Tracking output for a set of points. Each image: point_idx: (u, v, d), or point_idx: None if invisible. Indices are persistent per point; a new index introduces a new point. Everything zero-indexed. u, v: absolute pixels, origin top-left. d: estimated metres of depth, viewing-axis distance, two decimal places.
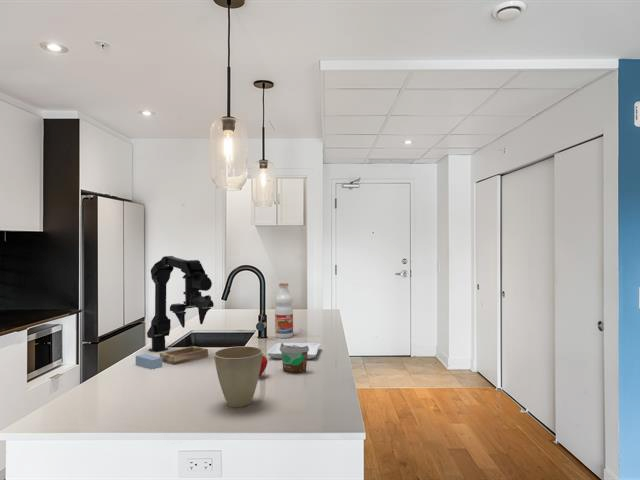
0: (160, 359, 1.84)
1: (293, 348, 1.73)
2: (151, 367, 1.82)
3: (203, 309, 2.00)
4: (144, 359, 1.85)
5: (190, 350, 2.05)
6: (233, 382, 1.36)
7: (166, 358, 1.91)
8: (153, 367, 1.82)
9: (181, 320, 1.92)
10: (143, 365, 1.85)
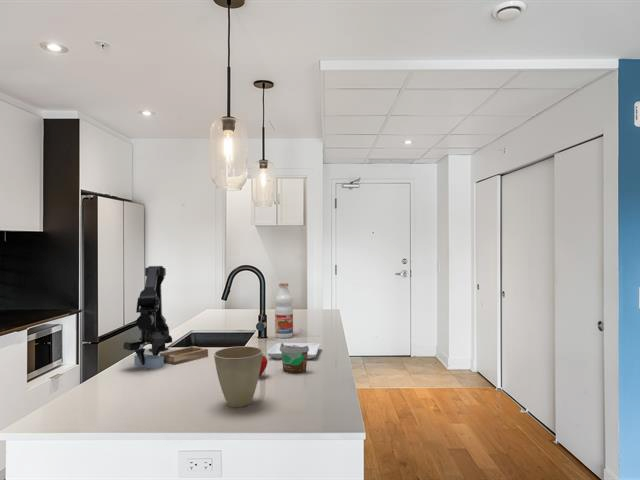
0: (161, 358, 1.85)
1: (293, 348, 1.73)
2: (153, 366, 1.82)
3: (156, 346, 1.89)
4: (145, 359, 1.85)
5: (190, 350, 2.05)
6: (233, 382, 1.36)
7: (166, 358, 1.91)
8: (155, 366, 1.82)
9: (140, 357, 1.84)
10: (143, 365, 1.85)
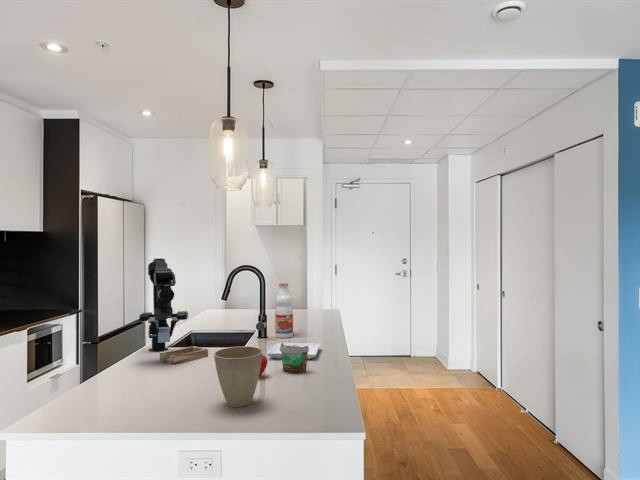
0: (167, 333, 1.86)
1: (293, 348, 1.73)
2: (158, 340, 1.86)
3: (171, 321, 1.91)
4: None
5: (190, 350, 2.05)
6: (233, 382, 1.36)
7: (166, 358, 1.91)
8: (159, 340, 1.85)
9: None
10: None
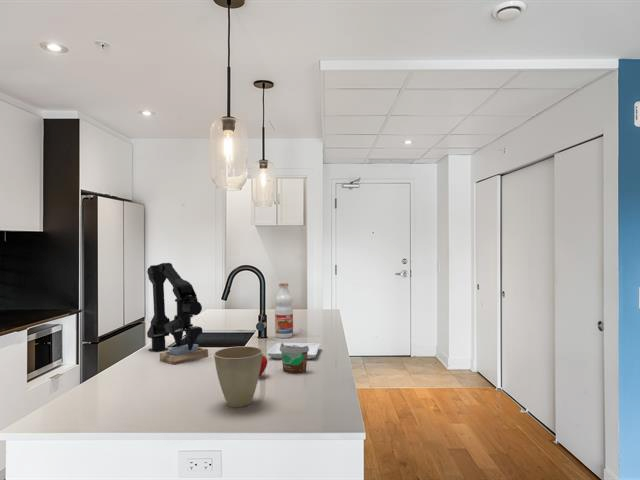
0: (175, 351, 1.92)
1: (293, 348, 1.73)
2: None
3: None
4: None
5: None
6: (233, 382, 1.36)
7: (166, 358, 1.91)
8: None
9: None
10: None
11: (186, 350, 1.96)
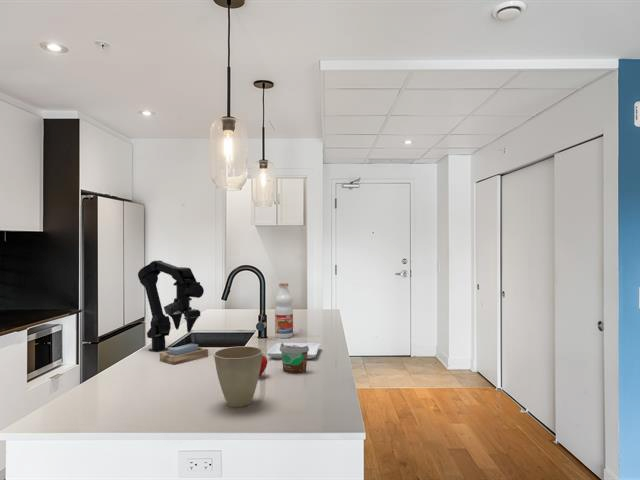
0: (175, 351, 1.92)
1: (293, 348, 1.73)
2: None
3: None
4: None
5: None
6: (233, 382, 1.36)
7: (166, 358, 1.91)
8: None
9: None
10: None
11: (186, 350, 1.96)
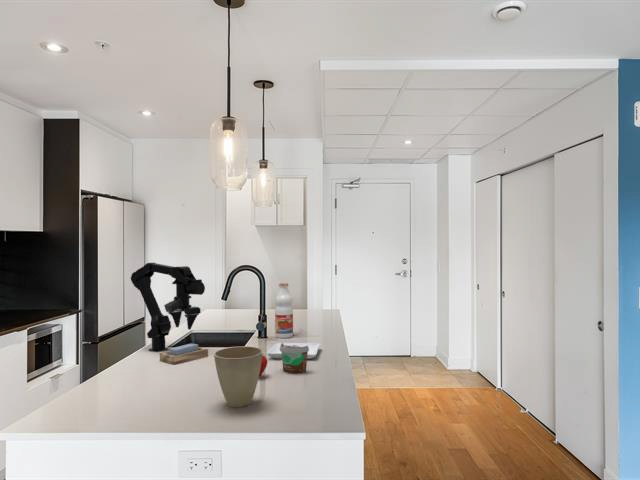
0: (175, 351, 1.92)
1: (293, 348, 1.73)
2: None
3: None
4: None
5: None
6: (233, 382, 1.36)
7: (166, 358, 1.91)
8: None
9: None
10: None
11: (186, 350, 1.96)
